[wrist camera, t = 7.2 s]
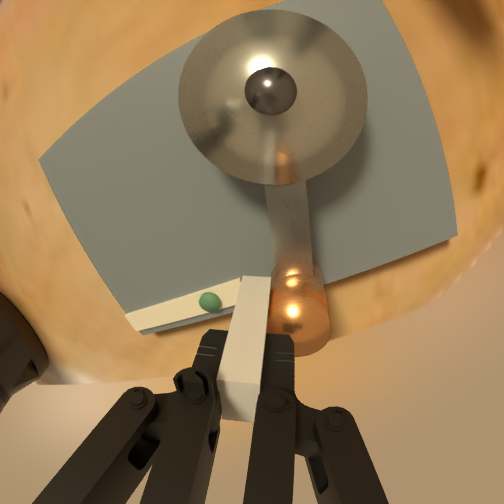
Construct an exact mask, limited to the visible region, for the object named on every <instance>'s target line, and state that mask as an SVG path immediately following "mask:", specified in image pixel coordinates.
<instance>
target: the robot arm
mask: <svg viewBox="0 0 504 504" xmlns="http://www.w3.org/2000/svg"><path fill="white" fill-rule="evenodd" d="M270 288H271V277H258V276H243V277H242V281H241V285H240V289H239V293H238V297H237V300H236V304H235V308H234V312H233V316H232V320H231V324H230V328H229V331H224V330H214V329H209V330H208V331H207V332H206V333H205V334H204V335H203V336H202V339H201V342H200V345H199V348H198V351H197V355H196V356H195V359H194V362H193V365H192V367H189V368H186V369H182V370H181V371H179V372H178V373H177V374H176V375H175V377H174V378H173V380H174V384H175V386H176V390H177V391H175V392H172V393H164V394H153V393H152V392H151V391H150V390H149V389H147V388H144V387H133V388H131V389H128V390H127V391H126V392H125V393H124V394H123V395H122V396H121V397H120V398H119V399H118V401H117V402H116V403H115V404H114V406H113V407H112V408H111V409H110V410H109V411H108V413H107V414H106V415H105V416H104V417H103V419H102V420H101V421H100V422H99V423H98V425H97V426H96V427H95V428H94V429H93V430H92V432H91V433H90V434H89V435H88V437H87V438H86V439H85V440H84V441H83V443H82V444H81V445H80V446H79V447H78V448H77V450H76V451H75V452H74V453H73V455H72V456H71V457H70V458H69V459H68V461H67V462H66V463H65V464H64V465H63V467H62V468H61V469H60V470H59V472H58V473H57V474H56V475H55V476H54V477H53V479H52V480H51V481H50V482H49V484H48V485H47V486H46V487H45V488H44V490H43V491H42V492H41V493H40V494H39V496H38V497H37V498H36V499H35V501H34V502H33V503H32V504H126V502H127V501H128V499H129V498H130V496H131V495H132V493H133V492H134V491H135V489H136V488H137V486H138V485H139V483H140V482H141V481H142V479H143V478H144V476H145V475H146V473H147V472H148V470H149V469H150V467H151V466H152V468H151V471H150V474H149V477H148V480H147V483H146V486H145V489H144V492H143V495H142V498H141V501H140V504H204V503H205V499H206V495H207V490H208V486H209V481H210V476H211V472H212V467H213V462H214V457H215V453H216V448H217V444H218V439H219V434H220V419H221V414H222V419H227V420H235V421H244V422H254V427H253V434H252V442H251V450H250V457H249V465H248V472H247V480H246V486H245V493H244V500H243V504H292V501H293V500H292V499H293V482H294V458H295V454H298V455H301V456H304V457H305V460H306V464H307V467H308V471H309V474H310V478H311V482H312V485H313V489H314V492H315V496H316V499H317V502H318V504H389V503H388V501H387V498H386V495H385V493H384V490H383V488H382V485H381V483H380V480H379V478H378V475H377V473H376V471H375V468H374V465H373V463H372V460H371V458H370V456H369V453H368V451H367V448H366V446H365V444H364V441H363V439H362V436H361V434H360V432H359V429H358V427H357V425H356V422H355V420H354V418H353V416H352V415H351V413H350V412H349V411H347V410H346V409H344V408H341V407H337V406H336V407H328V408H326V409H323V410H322V411H321V410H317V409H314V408H310V407H308V406H306V405H304V404H302V403H301V402H300V401H299V400H298V399H297V397H296V395H295V391H294V342H293V340H292V338H291V336H290V335H289V334H271V333H267V319H268V310H269V299H270ZM47 367H48V359H47V355H46V353H45V350H44V348H43V346H42V344H41V343H40V341H39V339H38V338H37V336H36V334H35V333H34V331H33V330H32V328H31V327H30V326H29V324H28V323H27V321H26V320H25V319H24V318H23V316H22V315H21V314H20V313H19V311H18V310H17V309H16V308H15V307H14V306H13V305H12V304H11V303H10V302H9V301H8V300H7V299H6V298H5V297H4V296H3V295H2V294H1V293H0V413H1V411H2V410H3V408H4V407H5V405H6V403H7V402H8V401H9V399H10V398H11V397H12V395H13V394H15V393H16V392H18V391H19V390H21V389H23V388H24V387H26V386H27V385H29V384H31V383H32V382H34V381H35V380H37V379H39V378H40V377H41V376H42V374H43V373H44V371H45V370H46V369H47ZM152 464H153V465H152Z"/></svg>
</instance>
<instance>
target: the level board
mask: <svg viewBox="0 0 504 504" xmlns="http://www.w3.org/2000/svg"><path fill="white" fill-rule="evenodd" d="M269 9H271V10H285V11H291V12H296V13H299V14H303V15H306V16H309V17H311V18H313V19H315V20H318V21H319V22H321V23H323V24H324V25H326V26H328V27H329V28H331V29H332V30H333V31H334V32H336V33H337V34H338V35H339V36H340V37H341V38H342V39H343V40H344V41H345V42H346V43H347V44H348V45H349V47H350V48H351V50H352V51H353V52H354V54H355V55H356V57H357V59H358V61H359V63H360V65H361V68H362V70H363V73H364V76H365V80H366V85H367V94H368V104H367V113H366V117H365V122H364V125H363V127H362V130H361V133H360V134H359V136H358V138H357V140H356V142H355V143H354V145H353V146H352V147H351V149H350V150H349V151H348V153H347V154H346V155H345V156H344V157H343V158H342V159H341V160H340V161H339V162H337V163H336V164H335V165H333V166H332V167H331V168H329V169H328V170H326V171H324V172H323V173H321V174H319V175H317V176H314V177H312V178H310V179H307V180H306V189H307V199H308V210H309V222H310V234H311V248H312V261H313V262H315V263H316V264H317V265H318V266H319V268H320V270H321V272H322V276H323V282H324V285H325V284H328V283H331V282H334V281H337V280H340V279H343V278H346V277H349V276H352V275H355V274H358V273H360V272H363V271H366V270H369V269H372V268H375V267H377V266H380V265H383V264H386V263H388V262H391V261H394V260H396V259H399V258H402V257H404V256H407V255H410V254H412V253H415V252H418V251H420V250H423V249H425V248H428V247H430V246H433V245H435V244H438V243H440V242H443V241H445V240H448V239H450V238H453V237H455V236H457V235H458V233H457V224H456V216H455V208H454V201H453V195H452V189H451V184H450V178H449V173H448V168H447V164H446V159H445V155H444V151H443V147H442V143H441V139H440V136H439V132H438V129H437V125H436V122H435V119H434V115H433V112H432V109H431V106H430V103H429V100H428V97H427V95H426V92H425V89H424V86H423V84H422V81H421V79H420V76H419V74H418V71H417V69H416V67H415V64H414V62H413V60H412V57H411V55H410V53H409V51H408V49H407V47H406V44H405V42H404V40H403V38H402V36H401V34H400V32H399V30H398V29H397V27H396V25H395V23H394V21H393V19H392V17H391V16H390V14H389V12H388V10H387V9H386V7H385V5H384V4H383V2H382V0H286V1H283V2H280V3H277V4H274V5H271V6H268V7H265V8H262V9H260V10H269ZM207 33H208V32H207ZM207 33H205V34H203V35H201V36H199V37H197V38H195V39H193V40H191V41H189V42H188V43H186V44H184V45H182V46H180V47H179V48H177V49H175V50H173V51H172V52H170V53H168V54H167V55H165V56H163V57H162V58H160V59H159V60H157V61H155V62H154V63H152V64H151V65H149V66H148V67H146V68H145V69H143V70H142V71H140V72H139V73H137V74H136V75H134V76H133V77H132V78H130V79H129V80H127V81H126V82H125V83H123V84H122V85H120V86H119V87H118V88H116V89H115V90H114V91H113V92H111V93H110V94H109V95H107V96H106V97H105V98H104V99H102V100H101V101H100V102H99V103H98V104H96V105H95V106H94V107H93V108H92V109H90V110H89V111H88V112H87V113H86V114H85V115H83V116H82V117H81V118H80V119H79V120H78V121H77V122H76V123H75V124H74V125H72V126H71V127H70V128H69V129H68V130H67V131H66V132H65V133H64V134H63V135H62V136H61V137H60V138H59V139H58V140H57V141H56V142H55V143H54V144H53V145H52V146H51V147H50V148H49V149H48V150H47V151H46V152H45V153H44V154H43V156H42V157H41V158H40V159H39V162H40V164H41V166H42V169H43V171H44V173H45V175H46V178H47V180H48V182H49V184H50V186H51V188H52V191H53V193H54V195H55V197H56V199H57V201H58V203H59V205H60V207H61V209H62V211H63V213H64V214H65V216H66V218H67V220H68V222H69V224H70V226H71V228H72V229H73V231H74V233H75V235H76V236H77V238H78V240H79V242H80V243H81V245H82V247H83V249H84V250H85V252H86V254H87V255H88V257H89V259H90V260H91V262H92V263H93V265H94V267H95V268H96V270H97V271H98V273H99V275H100V276H101V278H102V279H103V281H104V282H105V284H106V285H107V287H108V288H109V290H110V291H111V293H112V294H113V296H114V297H115V298H116V300H117V301H118V303H119V304H120V306H121V307H122V308H123V310H124V311H125V313H126V315H125V317H126V319H127V320H128V321H129V323H130V324H131V325H132V327H133V328H134V329H135V330H136V331H140V333H141V334H142V335H146V334H151V333H155V332H159V331H163V330H167V329H172V328H176V327H180V326H184V325H188V324H192V323H195V322H199V321H203V320H207V319H211V318H214V317H218V316H222V315H225V314H229V313H233V312H234V308H235V304H236V300H237V297H238V293H239V289H240V285H241V281H242V277H243V276H258V277H271V273H272V270H273V269H274V267H275V259H274V252H273V244H272V237H271V229H270V222H269V215H268V208H267V201H266V194H265V187H264V184H259V183H254V182H249V181H245V180H242V179H239V178H236V177H234V176H232V175H230V174H228V173H226V172H224V171H223V170H221V169H219V168H218V167H216V166H215V165H214V164H212V163H211V162H210V161H209V160H207V159H206V158H205V157H204V156H203V155H202V154H201V152H200V151H199V150H198V149H197V148H196V146H195V145H194V144H193V142H192V141H191V139H190V137H189V135H188V134H187V132H186V129H185V127H184V124H183V122H182V119H181V114H180V110H179V102H178V90H179V82H180V77H181V73H182V70H183V67H184V65H185V63H186V60H187V58H188V56H189V55H190V53H191V51H192V50H193V48H194V47H195V46H196V44H197V43H198V42H199V41H200V40H201V39H202V38H203V37H204V36H205V35H206V34H207Z"/></svg>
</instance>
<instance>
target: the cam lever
mask: <svg viewBox="0 0 504 504" xmlns="http://www.w3.org/2000/svg"><path fill="white" fill-rule="evenodd" d="M178 102H179V110H180V114H181V119H182V122H183V124H184V127H185V129H186V132H187V134H188V135H189V137H190V139H191V141H192V142H193V144H194V145H195V146H196V148H197V149H198V150H199V151H200V152H201V154H202V155H203V156H204V157H205V158H206V159H207V160H209V161H210V162H211V163H212V164H214V165H215V166H216V167H218V168H219V169H221V170H223V171H224V172H226V173H228V174H230V175H232V176H234V177H236V178H239V179H242V180H245V181H249V182H254V183H259V184H264V187H265V194H266V201H267V208H268V215H269V222H270V229H271V237H272V244H273V252H274V259H275V267H274V269H273V270H272V273H271V288H270V299H269V310H268V319H267V333H271V334H289V335H290V336H291V338H292V340H293V342H294V357H300V356H307V355H310V354H313V353H315V352H317V351H319V350H320V349H322V348H323V347H324V346H325V345H326V344H327V342H328V341H329V338H330V335H331V326H330V320H329V313H328V306H327V300H326V294H325V288H324V282H323V276H322V272H321V270H320V268H319V266H318V265H317V264H316V263H315V262H313V261H312V248H311V234H310V222H309V210H308V199H307V189H306V180H307V179H310V178H312V177H314V176H317V175H319V174H321V173H323V172H324V171H326V170H328V169H329V168H331V167H332V166H333V165H335V164H336V163H337V162H339V161H340V160H341V159H342V158H343V157H344V156H345V155H346V154H347V153H348V151H349V150H350V149H351V147H352V146H353V145H354V143H355V142H356V140H357V138H358V136H359V134H360V133H361V130H362V127H363V125H364V122H365V117H366V113H367V104H368V94H367V85H366V80H365V76H364V73H363V70H362V68H361V65H360V63H359V61H358V59H357V57H356V55H355V54H354V52H353V51H352V50H351V48H350V47H349V45H348V44H347V43H346V42H345V41H344V40H343V39H342V38H341V37H340V36H339V35H338V34H337V33H336V32H334V31H333V30H332V29H331V28H329V27H328V26H326V25H324V24H323V23H321V22H319V21H318V20H315V19H313V18H311V17H309V16H306V15H303V14H299V13H296V12H291V11H285V10H271V9H269V10H257V11H252V12H247V13H243V14H240V15H237V16H235V17H232V18H230V19H228V20H226V21H224V22H222V23H220V24H219V25H217V26H216V27H214V28H213V29H212V30H210V31H209V32H208V33H207V34H206V35H205V36H204V37H203V38H202V39H201V40H200V41H199V42H198V43H197V44H196V46H195V47H194V48H193V50H192V51H191V53H190V55H189V56H188V58H187V60H186V63H185V65H184V67H183V70H182V73H181V77H180V82H179V90H178Z"/></svg>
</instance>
